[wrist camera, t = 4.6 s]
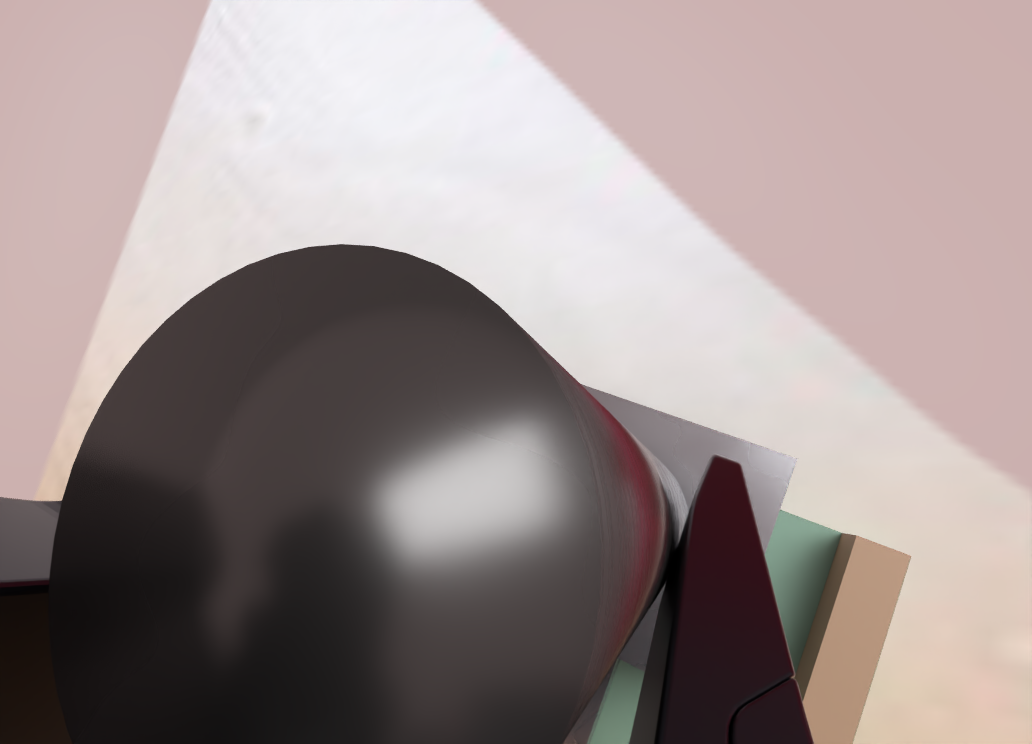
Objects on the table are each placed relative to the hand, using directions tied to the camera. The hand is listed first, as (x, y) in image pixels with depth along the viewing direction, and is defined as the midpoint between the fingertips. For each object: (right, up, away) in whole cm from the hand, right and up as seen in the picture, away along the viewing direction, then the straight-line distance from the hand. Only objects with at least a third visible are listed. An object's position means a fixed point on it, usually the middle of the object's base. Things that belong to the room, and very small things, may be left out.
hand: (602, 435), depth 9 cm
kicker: (0, -5, +5) cm, 7 cm away
